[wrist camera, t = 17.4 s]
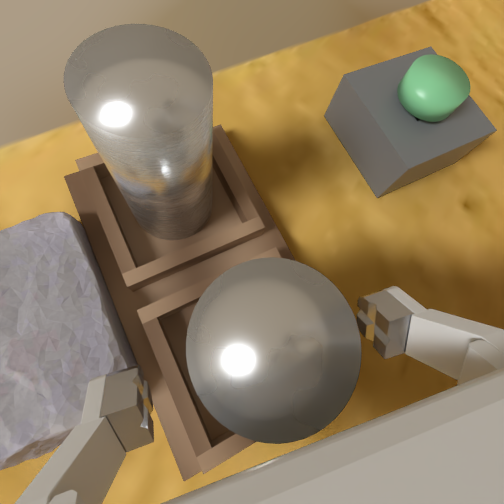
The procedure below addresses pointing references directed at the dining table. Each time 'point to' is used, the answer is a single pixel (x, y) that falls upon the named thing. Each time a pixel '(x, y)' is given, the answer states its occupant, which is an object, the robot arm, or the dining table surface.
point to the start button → (433, 88)
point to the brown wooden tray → (175, 288)
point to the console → (398, 127)
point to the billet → (273, 350)
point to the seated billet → (149, 122)
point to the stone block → (51, 333)
